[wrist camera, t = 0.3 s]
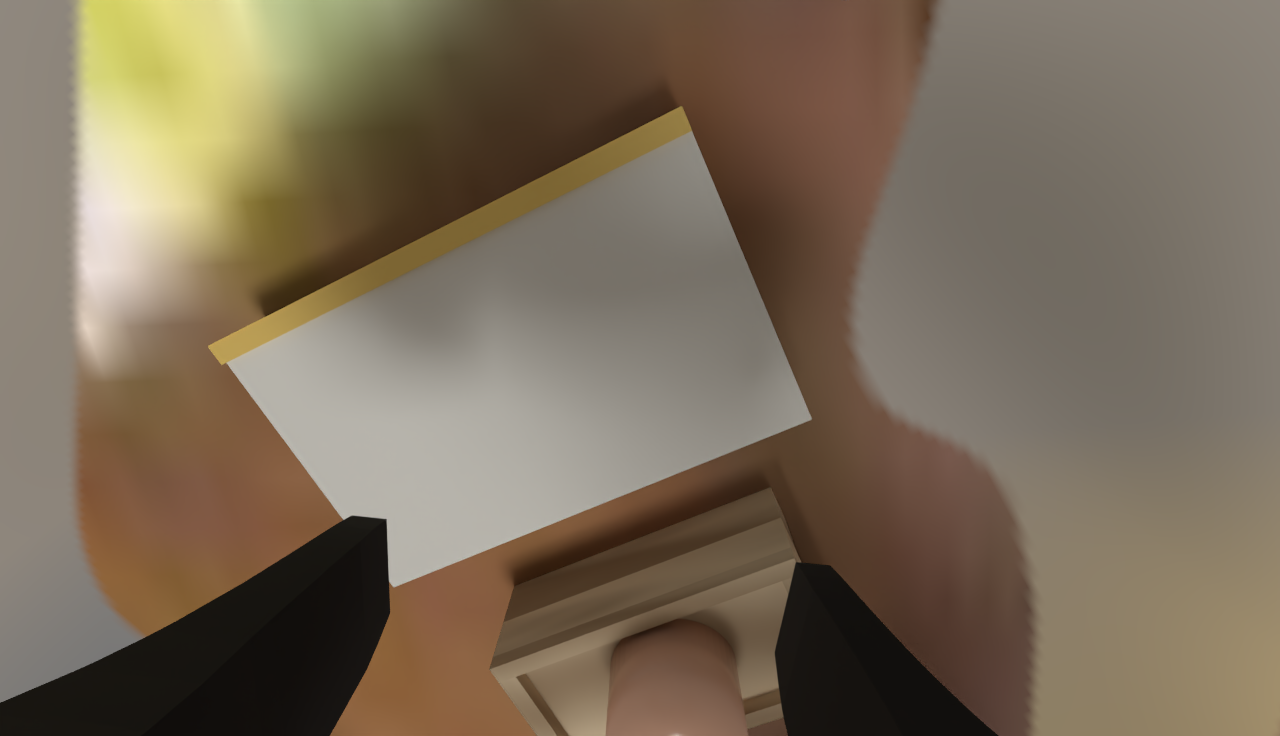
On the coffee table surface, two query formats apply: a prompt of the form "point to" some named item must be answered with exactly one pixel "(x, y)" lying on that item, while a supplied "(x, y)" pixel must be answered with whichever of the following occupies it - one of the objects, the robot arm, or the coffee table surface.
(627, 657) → the pink rounded cylinder
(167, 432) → the coffee table surface
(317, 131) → the coffee table surface
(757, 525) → the wooden box
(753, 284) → the dock
